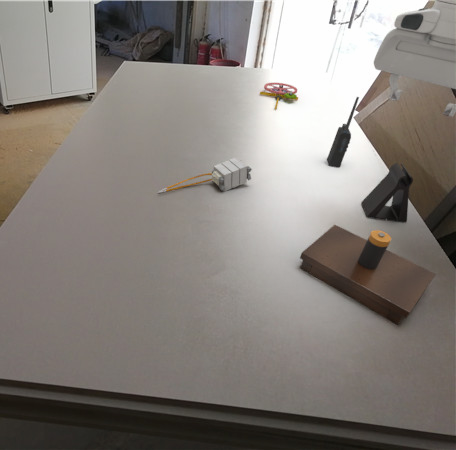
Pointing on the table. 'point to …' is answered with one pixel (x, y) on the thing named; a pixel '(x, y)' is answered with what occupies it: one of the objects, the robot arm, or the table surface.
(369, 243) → the battery
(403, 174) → the phone stand
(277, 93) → the mechanical gear assembly
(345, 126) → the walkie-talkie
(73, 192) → the table surface
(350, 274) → the block
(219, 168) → the electrical component
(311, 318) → the table surface
